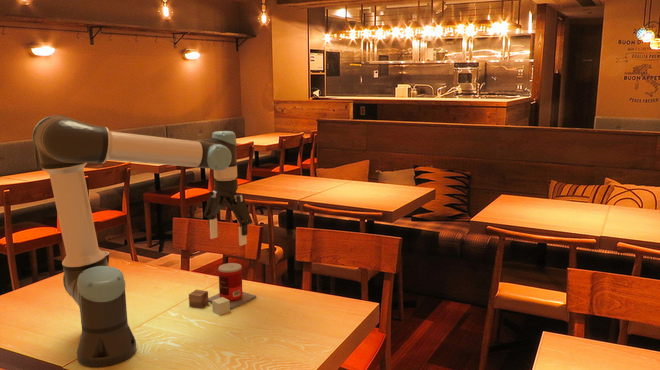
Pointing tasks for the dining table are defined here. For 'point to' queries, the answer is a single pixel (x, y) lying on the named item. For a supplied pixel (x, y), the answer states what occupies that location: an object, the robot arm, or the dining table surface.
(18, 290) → the dining table surface
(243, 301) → the slate coaster
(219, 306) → the beige block
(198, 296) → the walnut block
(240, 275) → the canned food
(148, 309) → the dining table surface
